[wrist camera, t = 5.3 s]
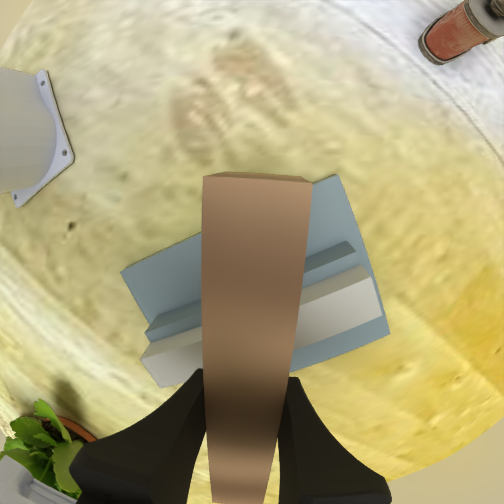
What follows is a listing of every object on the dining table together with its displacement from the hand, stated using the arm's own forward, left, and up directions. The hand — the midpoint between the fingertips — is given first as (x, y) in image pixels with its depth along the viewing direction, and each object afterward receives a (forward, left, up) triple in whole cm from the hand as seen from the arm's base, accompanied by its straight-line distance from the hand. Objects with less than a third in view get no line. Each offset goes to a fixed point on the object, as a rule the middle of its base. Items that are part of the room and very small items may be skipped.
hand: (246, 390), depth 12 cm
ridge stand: (0, 0, -9) cm, 9 cm away
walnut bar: (0, 0, -2) cm, 2 cm away
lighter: (-13, +22, -10) cm, 27 cm away
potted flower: (+11, -30, -10) cm, 33 cm away
